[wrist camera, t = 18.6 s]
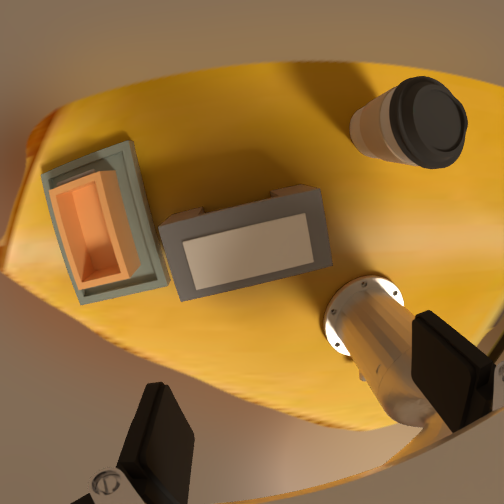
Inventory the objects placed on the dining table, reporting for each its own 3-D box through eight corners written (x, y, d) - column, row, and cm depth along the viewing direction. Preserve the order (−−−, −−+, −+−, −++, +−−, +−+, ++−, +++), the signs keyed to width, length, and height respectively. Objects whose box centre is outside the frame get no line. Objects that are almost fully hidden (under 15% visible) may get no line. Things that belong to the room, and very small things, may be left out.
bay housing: (189, 275, 39) (180, 303, 31) (171, 214, 37) (157, 227, 29) (312, 246, 39) (333, 266, 31) (301, 184, 37) (320, 188, 29)
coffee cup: (355, 175, 37) (423, 183, 23) (330, 108, 35) (387, 80, 20) (409, 154, 37) (486, 156, 23) (387, 92, 35) (457, 66, 20)
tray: (170, 280, 39) (167, 285, 37) (86, 299, 39) (80, 305, 37) (133, 141, 34) (128, 140, 32) (48, 174, 34) (40, 174, 32)
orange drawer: (141, 264, 37) (129, 278, 32) (94, 276, 37) (78, 290, 32) (114, 165, 34) (98, 166, 29) (67, 183, 34) (47, 186, 29)
